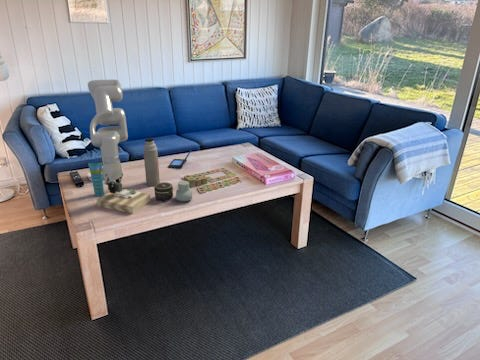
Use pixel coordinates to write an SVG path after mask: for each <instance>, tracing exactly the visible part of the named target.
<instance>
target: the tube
mask: <svg viewBox="0 0 480 360" xmlns="http://www.w3.org/2000/svg"><path fill="white" fill-rule="evenodd" d="M87 166H88V169H89V172H90V176H91V177H90V178H91V182H92V186H93V192H94V196H96V197H102V196H103V195H105V192H104V179H103V176H102V174H103V172H102V168H103V162H87Z"/></svg>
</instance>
